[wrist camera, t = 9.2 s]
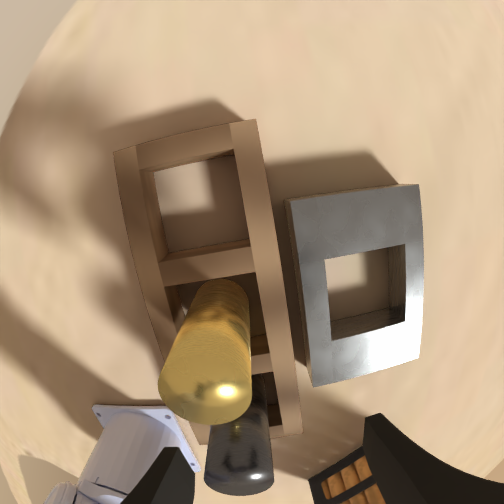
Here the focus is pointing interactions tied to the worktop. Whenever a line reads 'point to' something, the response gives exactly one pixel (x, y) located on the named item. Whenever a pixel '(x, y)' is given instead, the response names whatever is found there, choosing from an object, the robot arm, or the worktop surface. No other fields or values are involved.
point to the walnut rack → (212, 253)
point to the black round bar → (242, 449)
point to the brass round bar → (211, 357)
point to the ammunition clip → (346, 482)
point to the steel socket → (351, 242)
